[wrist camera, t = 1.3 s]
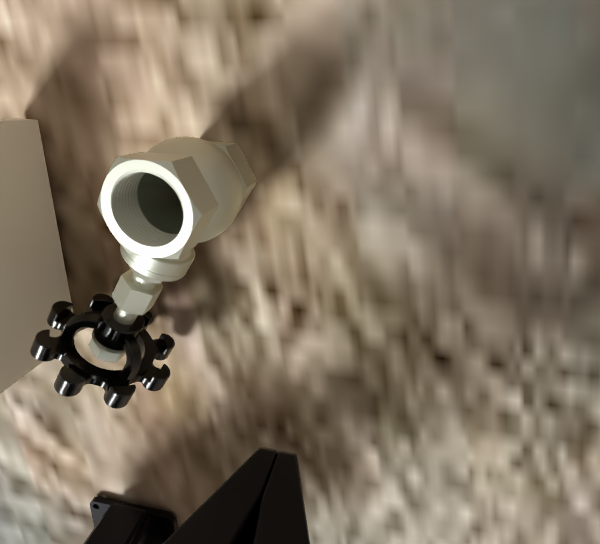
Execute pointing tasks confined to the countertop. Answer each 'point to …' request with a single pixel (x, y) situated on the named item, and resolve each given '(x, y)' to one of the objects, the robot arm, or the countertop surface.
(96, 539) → the robot arm
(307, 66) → the countertop surface
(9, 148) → the white t-shaped slider
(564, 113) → the countertop surface
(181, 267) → the valve
